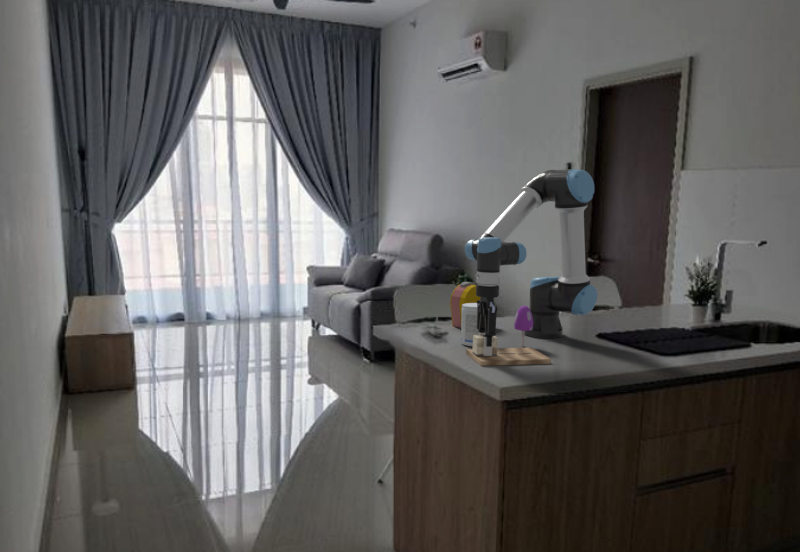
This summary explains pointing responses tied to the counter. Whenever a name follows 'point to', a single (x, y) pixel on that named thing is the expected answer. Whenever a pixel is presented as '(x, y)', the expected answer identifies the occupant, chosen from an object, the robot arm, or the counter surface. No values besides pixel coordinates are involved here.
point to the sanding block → (479, 345)
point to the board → (511, 357)
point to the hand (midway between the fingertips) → (484, 353)
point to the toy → (523, 321)
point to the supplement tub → (469, 323)
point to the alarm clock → (462, 300)
